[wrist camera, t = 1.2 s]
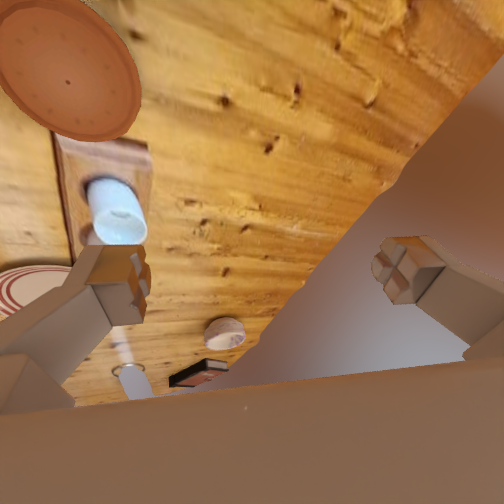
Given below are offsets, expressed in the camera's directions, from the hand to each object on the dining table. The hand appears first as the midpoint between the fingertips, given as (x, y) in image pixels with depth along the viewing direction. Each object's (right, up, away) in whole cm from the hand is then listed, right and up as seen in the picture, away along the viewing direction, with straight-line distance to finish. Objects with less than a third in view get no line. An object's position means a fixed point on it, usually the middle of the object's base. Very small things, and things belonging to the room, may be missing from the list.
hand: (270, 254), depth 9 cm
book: (-29, -62, +124) cm, 142 cm away
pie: (-23, +24, +24) cm, 41 cm away
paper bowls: (-12, -27, +88) cm, 93 cm away
